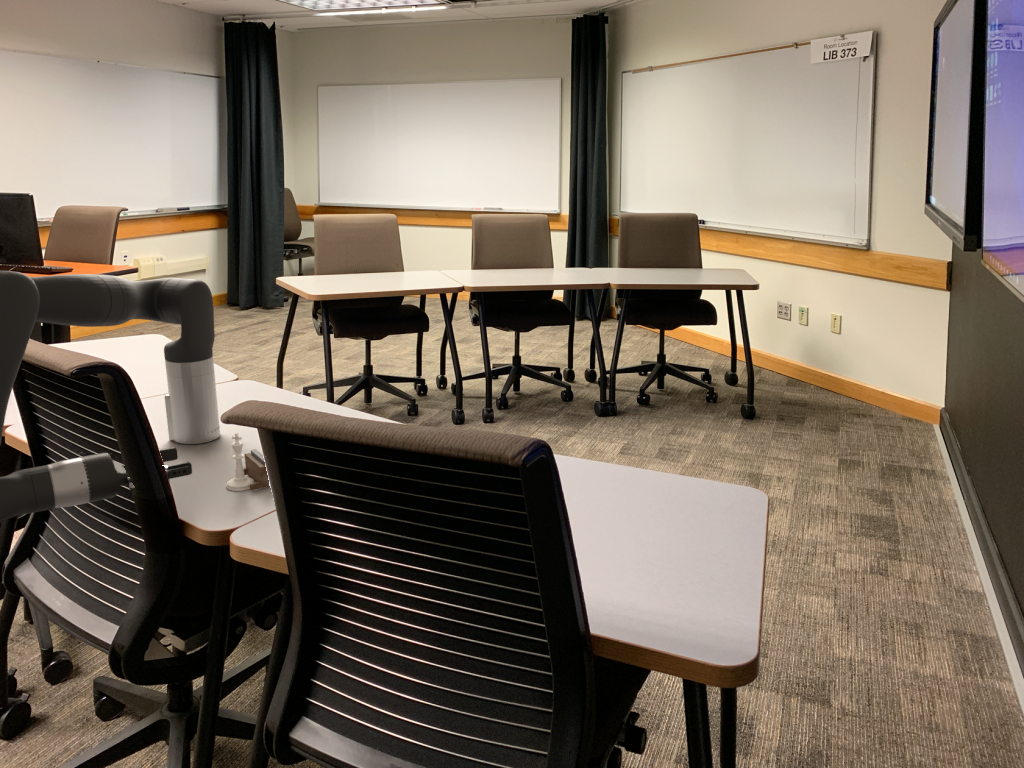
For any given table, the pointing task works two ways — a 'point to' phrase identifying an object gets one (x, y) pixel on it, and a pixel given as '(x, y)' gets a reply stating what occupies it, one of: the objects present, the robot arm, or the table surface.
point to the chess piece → (238, 468)
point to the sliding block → (255, 472)
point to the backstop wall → (260, 458)
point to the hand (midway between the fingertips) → (183, 460)
